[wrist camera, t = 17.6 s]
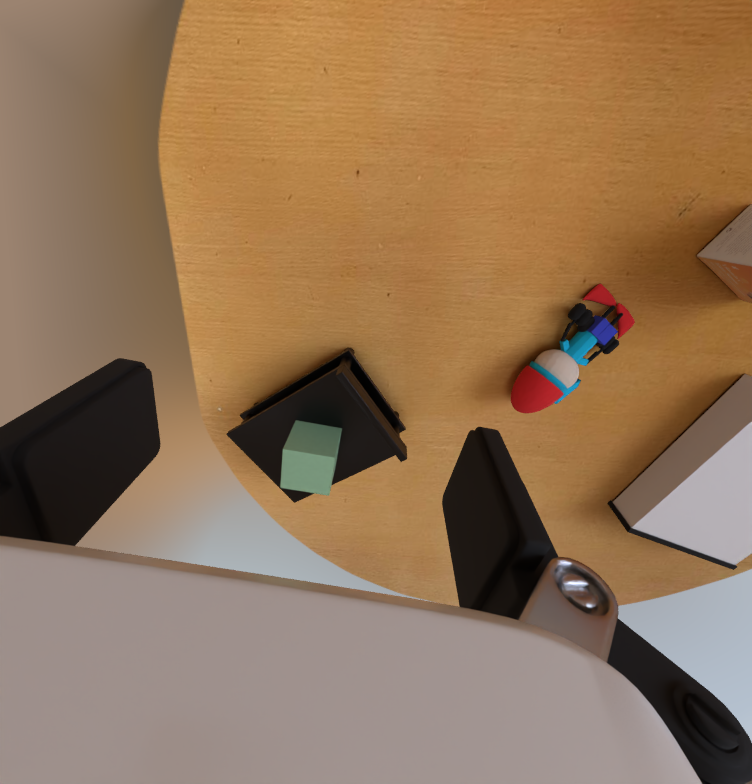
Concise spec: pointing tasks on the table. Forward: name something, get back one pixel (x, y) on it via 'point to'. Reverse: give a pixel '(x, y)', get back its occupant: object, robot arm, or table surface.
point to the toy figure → (569, 354)
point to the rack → (324, 420)
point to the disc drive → (700, 486)
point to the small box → (733, 255)
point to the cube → (310, 457)
